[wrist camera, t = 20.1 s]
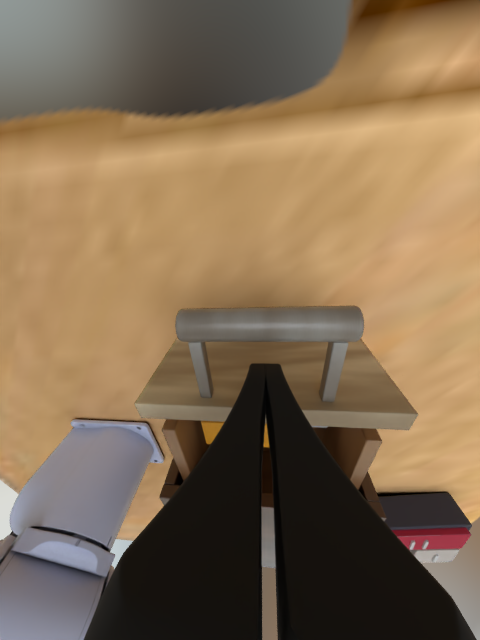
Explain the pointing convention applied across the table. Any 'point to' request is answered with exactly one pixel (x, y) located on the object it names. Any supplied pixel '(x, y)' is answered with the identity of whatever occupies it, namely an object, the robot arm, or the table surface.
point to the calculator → (427, 524)
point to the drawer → (299, 370)
